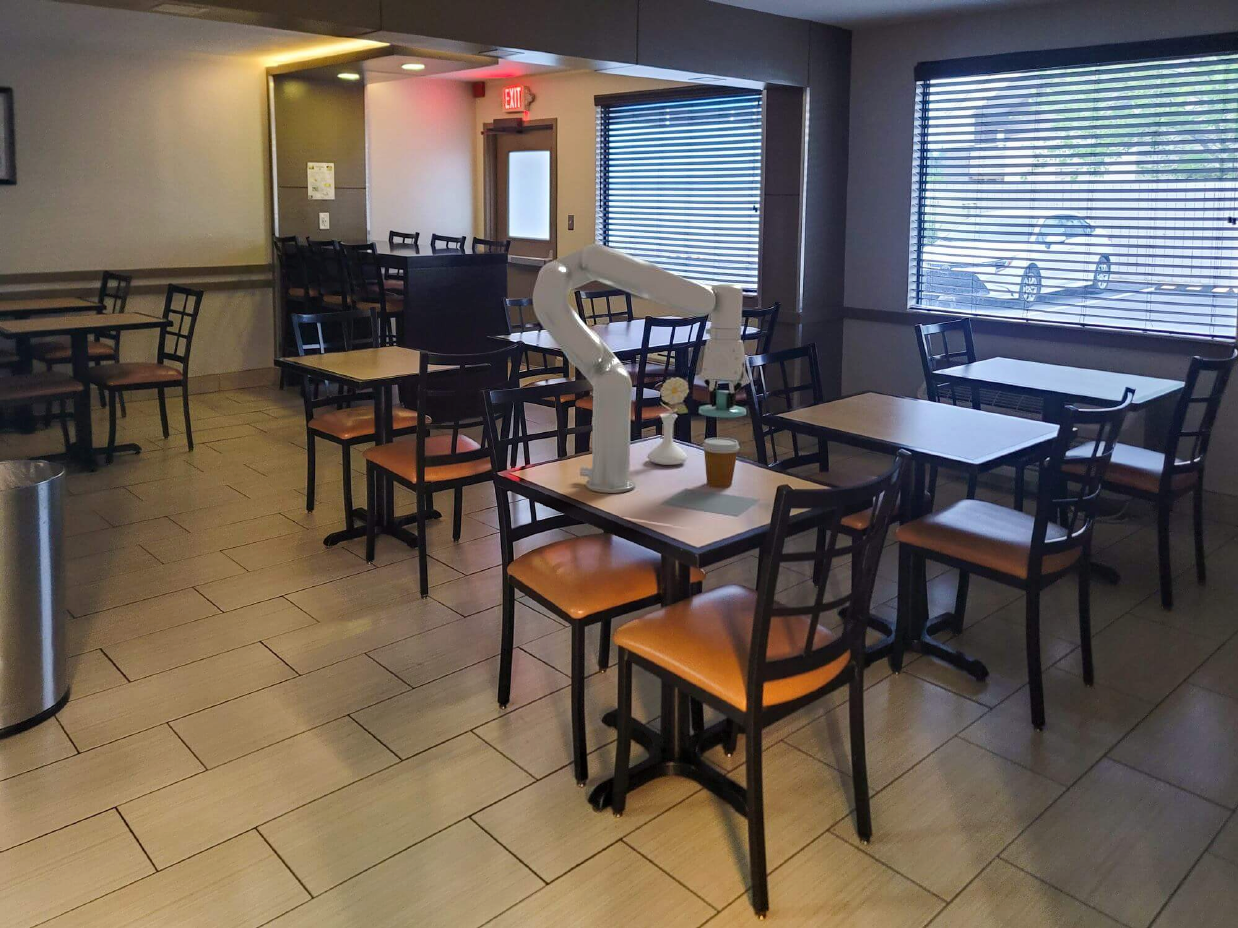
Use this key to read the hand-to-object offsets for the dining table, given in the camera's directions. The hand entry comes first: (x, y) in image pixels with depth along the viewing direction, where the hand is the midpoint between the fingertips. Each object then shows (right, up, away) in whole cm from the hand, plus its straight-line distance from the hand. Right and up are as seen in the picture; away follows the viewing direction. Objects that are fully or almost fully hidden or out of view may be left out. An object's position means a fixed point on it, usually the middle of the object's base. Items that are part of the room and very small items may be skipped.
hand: (722, 406), depth 252 cm
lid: (0, -2, 0) cm, 2 cm away
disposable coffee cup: (0, -21, +6) cm, 21 cm away
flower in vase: (-12, -15, +28) cm, 34 cm away
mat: (-4, -24, -10) cm, 27 cm away
